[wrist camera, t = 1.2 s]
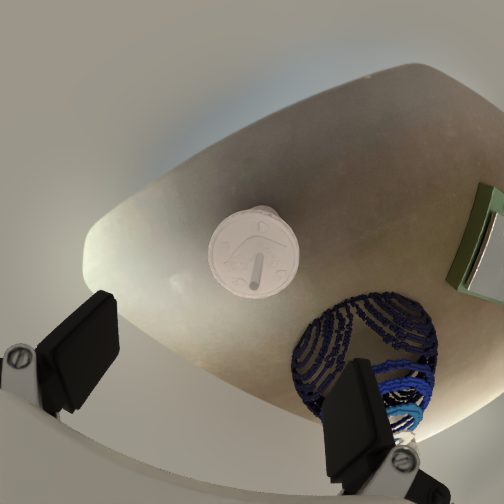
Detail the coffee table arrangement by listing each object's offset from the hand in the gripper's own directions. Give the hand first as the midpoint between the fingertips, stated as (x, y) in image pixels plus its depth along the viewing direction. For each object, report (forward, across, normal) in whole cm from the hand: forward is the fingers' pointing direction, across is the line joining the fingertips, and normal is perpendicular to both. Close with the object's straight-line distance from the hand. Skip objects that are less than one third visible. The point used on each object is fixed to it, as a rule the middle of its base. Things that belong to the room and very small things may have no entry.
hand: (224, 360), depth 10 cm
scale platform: (+16, -30, -6) cm, 34 cm away
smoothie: (+19, 0, -1) cm, 19 cm away
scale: (+19, -30, -7) cm, 36 cm away
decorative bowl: (+20, -18, +13) cm, 30 cm away
